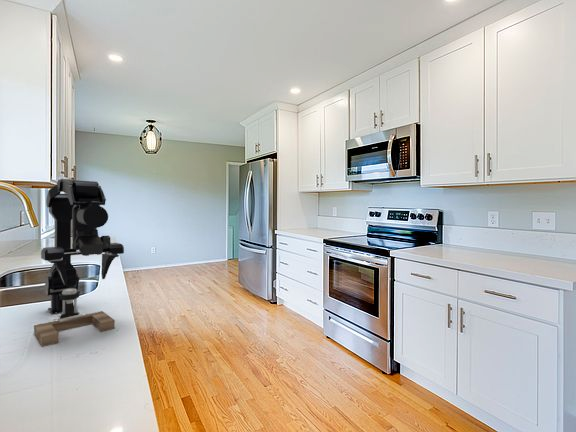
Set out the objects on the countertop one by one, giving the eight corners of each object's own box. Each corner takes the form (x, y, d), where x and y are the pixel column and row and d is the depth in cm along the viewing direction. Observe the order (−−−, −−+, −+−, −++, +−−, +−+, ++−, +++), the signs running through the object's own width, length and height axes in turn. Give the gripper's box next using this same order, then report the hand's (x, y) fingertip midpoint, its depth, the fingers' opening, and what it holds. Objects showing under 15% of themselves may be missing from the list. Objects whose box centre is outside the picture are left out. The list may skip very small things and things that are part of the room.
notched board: (34, 334, 87) (34, 323, 87) (102, 318, 100) (102, 309, 99) (41, 346, 80) (41, 335, 79) (114, 328, 92) (114, 318, 92)
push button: (51, 327, 92) (51, 293, 92) (55, 321, 97) (55, 289, 97) (79, 323, 95) (78, 291, 95) (81, 318, 100) (81, 287, 100)
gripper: (49, 229, 75) (49, 293, 75) (131, 226, 88) (131, 281, 89) (40, 226, 82) (40, 285, 83) (117, 224, 96) (117, 274, 97)
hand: (85, 281), depth 88 cm, fingers open, 9 cm apart
